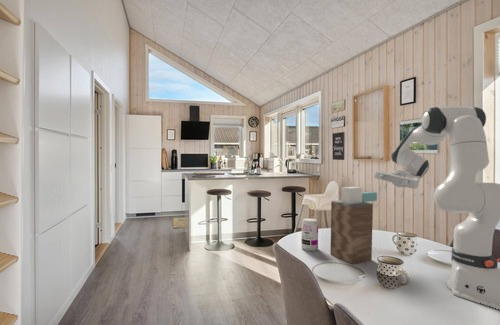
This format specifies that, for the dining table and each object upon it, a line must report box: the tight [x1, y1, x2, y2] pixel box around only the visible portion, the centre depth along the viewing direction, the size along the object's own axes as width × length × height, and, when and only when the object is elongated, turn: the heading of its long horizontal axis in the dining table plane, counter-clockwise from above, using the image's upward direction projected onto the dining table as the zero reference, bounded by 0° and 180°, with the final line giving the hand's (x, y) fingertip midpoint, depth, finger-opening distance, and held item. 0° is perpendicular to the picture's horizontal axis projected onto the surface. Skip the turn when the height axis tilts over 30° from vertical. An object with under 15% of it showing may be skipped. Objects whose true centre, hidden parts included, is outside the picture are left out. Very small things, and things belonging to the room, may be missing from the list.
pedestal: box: [329, 199, 374, 265], centre depth 140 cm, size 14×12×26 cm
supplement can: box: [301, 217, 319, 252], centre depth 152 cm, size 8×8×15 cm
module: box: [340, 186, 378, 204], centre depth 142 cm, size 5×19×7 cm, turn 116°
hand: (391, 179), depth 142 cm, fingers open, 8 cm apart
